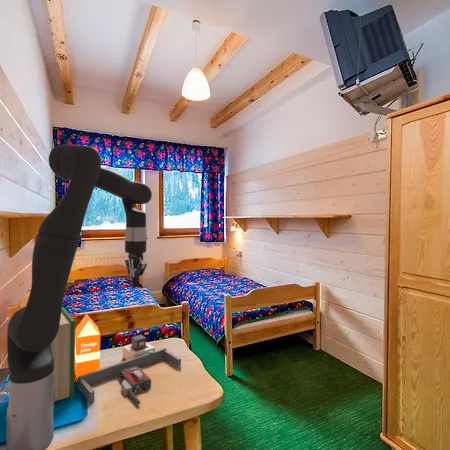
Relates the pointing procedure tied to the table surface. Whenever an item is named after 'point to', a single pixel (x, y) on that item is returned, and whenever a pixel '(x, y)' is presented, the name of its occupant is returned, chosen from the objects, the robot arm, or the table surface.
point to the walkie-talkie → (134, 381)
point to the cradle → (117, 368)
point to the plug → (138, 342)
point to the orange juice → (87, 347)
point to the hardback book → (64, 357)
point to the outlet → (130, 353)
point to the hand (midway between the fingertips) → (135, 286)
